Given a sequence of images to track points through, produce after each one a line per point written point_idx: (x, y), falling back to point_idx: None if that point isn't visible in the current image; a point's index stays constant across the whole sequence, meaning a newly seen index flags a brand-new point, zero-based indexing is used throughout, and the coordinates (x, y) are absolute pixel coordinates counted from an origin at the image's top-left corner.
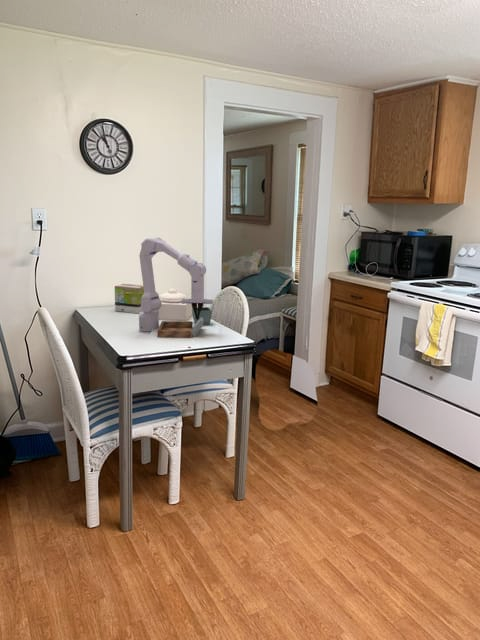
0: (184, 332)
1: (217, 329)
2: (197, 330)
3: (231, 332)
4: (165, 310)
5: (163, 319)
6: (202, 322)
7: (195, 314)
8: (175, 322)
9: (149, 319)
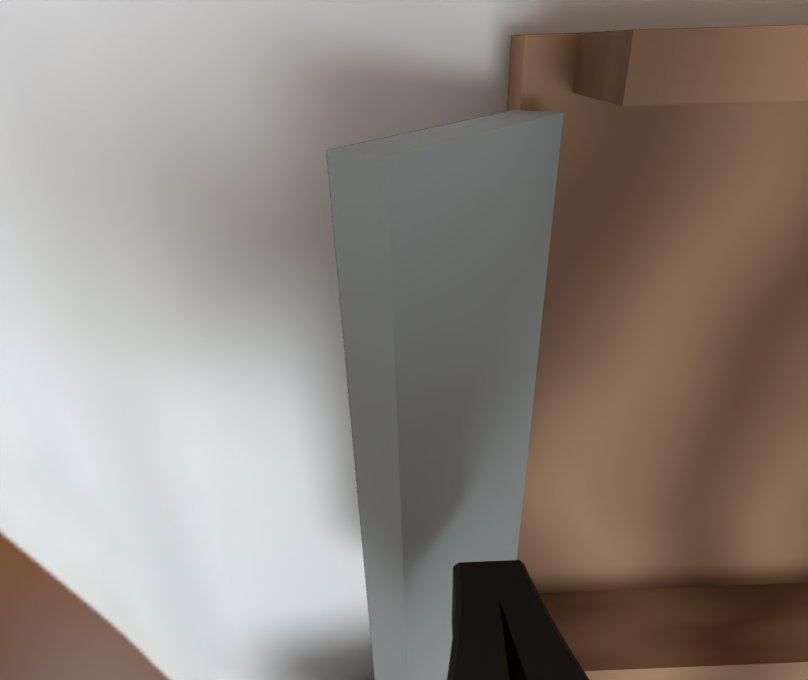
0: (772, 26)
1: (229, 635)
2: (459, 127)
3: (31, 551)
4: None
5: None
6: (367, 515)
7: (573, 674)
8: (769, 652)
9: None
